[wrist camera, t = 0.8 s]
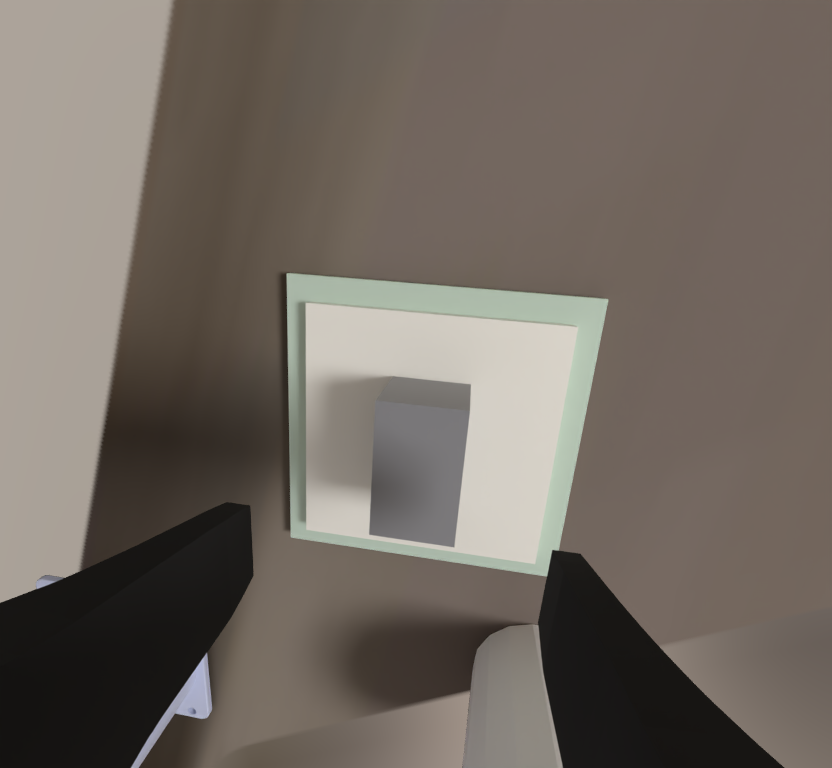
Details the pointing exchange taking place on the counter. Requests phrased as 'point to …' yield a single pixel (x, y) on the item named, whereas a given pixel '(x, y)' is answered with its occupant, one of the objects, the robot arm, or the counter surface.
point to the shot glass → (510, 704)
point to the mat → (463, 302)
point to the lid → (433, 426)
